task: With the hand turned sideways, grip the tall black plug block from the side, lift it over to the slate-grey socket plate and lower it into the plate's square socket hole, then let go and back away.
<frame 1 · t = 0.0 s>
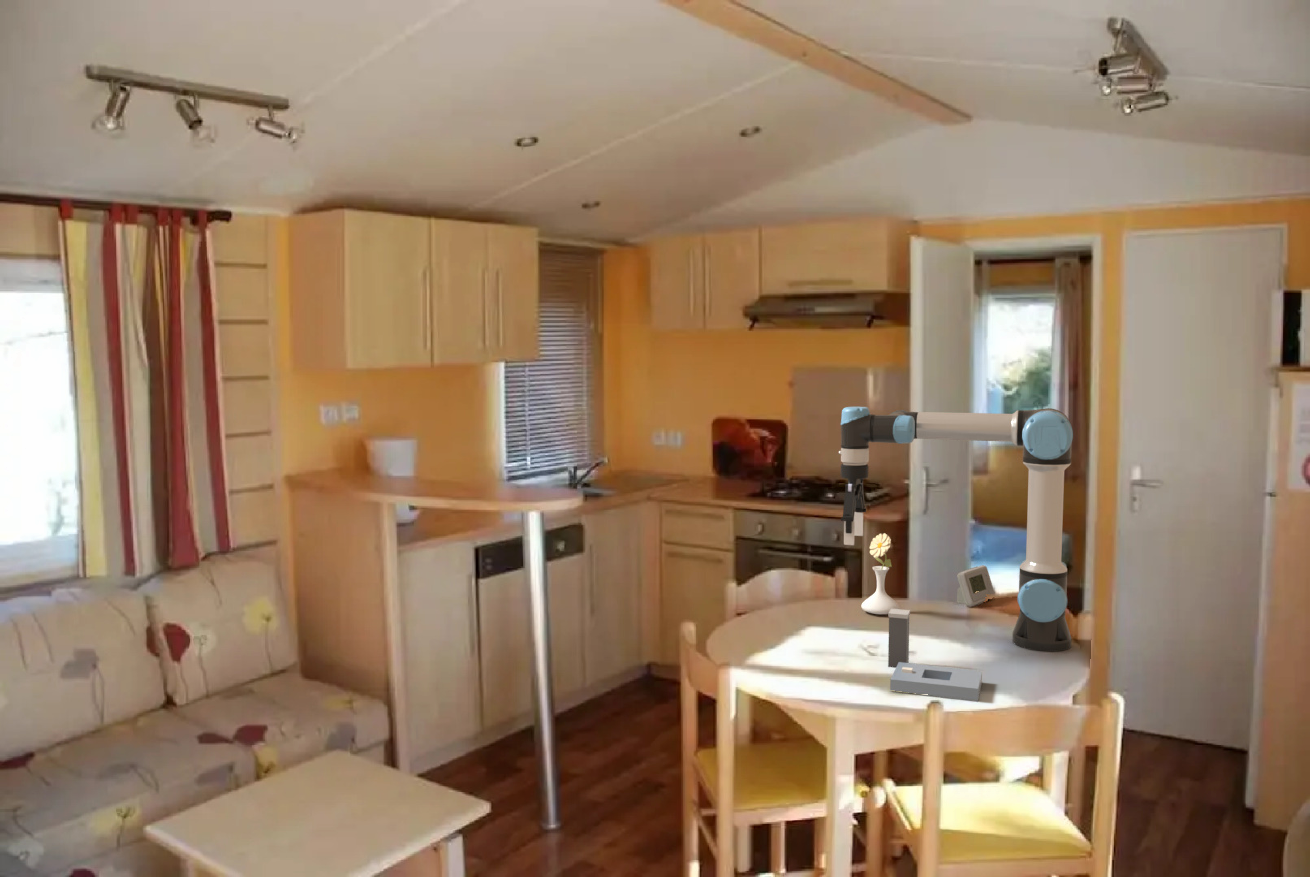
hand: (853, 540, 294), 28 cm above the table, tool pointing down, fingers open, 13 cm apart
digital clock: (975, 603, 336), on the table
plug: (898, 665, 274), on the table
flower in vase: (881, 613, 324), on the table
socket plate: (936, 687, 257), on the table
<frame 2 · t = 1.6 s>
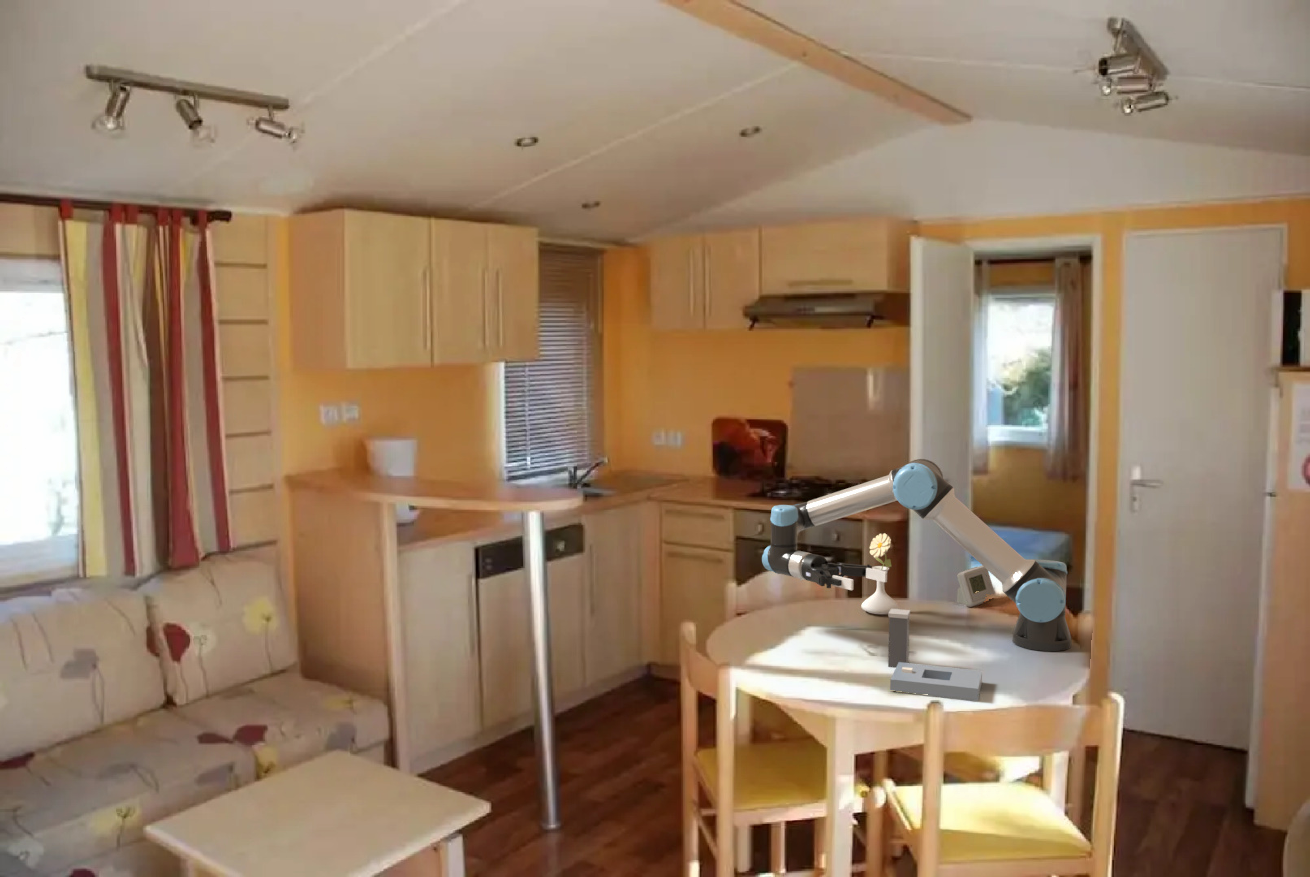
hand: (869, 581, 280), 20 cm above the table, tool horizontal, fingers open, 13 cm apart
nothing on the table moved.
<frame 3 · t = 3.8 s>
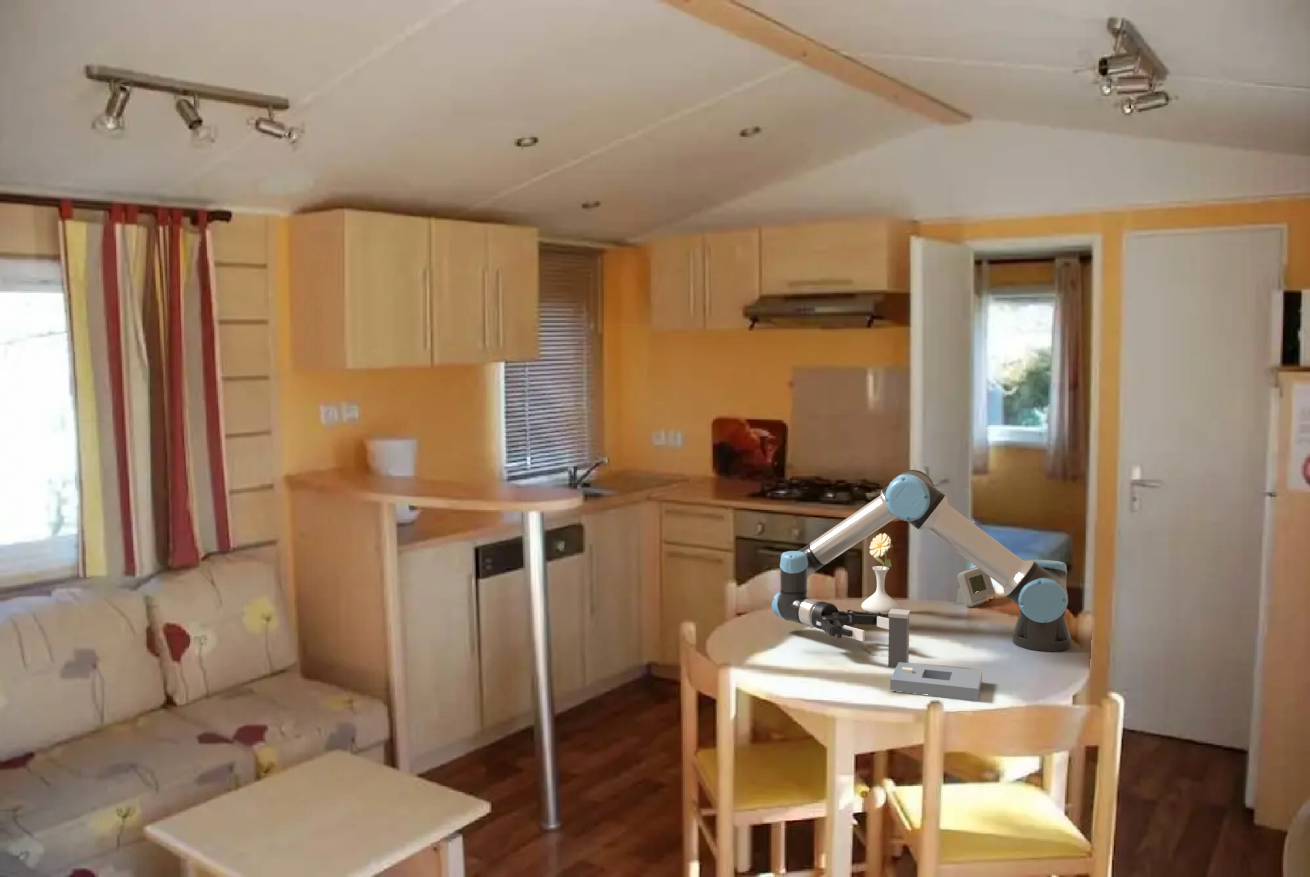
hand: (880, 631, 277), 8 cm above the table, tool horizontal, fingers open, 13 cm apart
nothing on the table moved.
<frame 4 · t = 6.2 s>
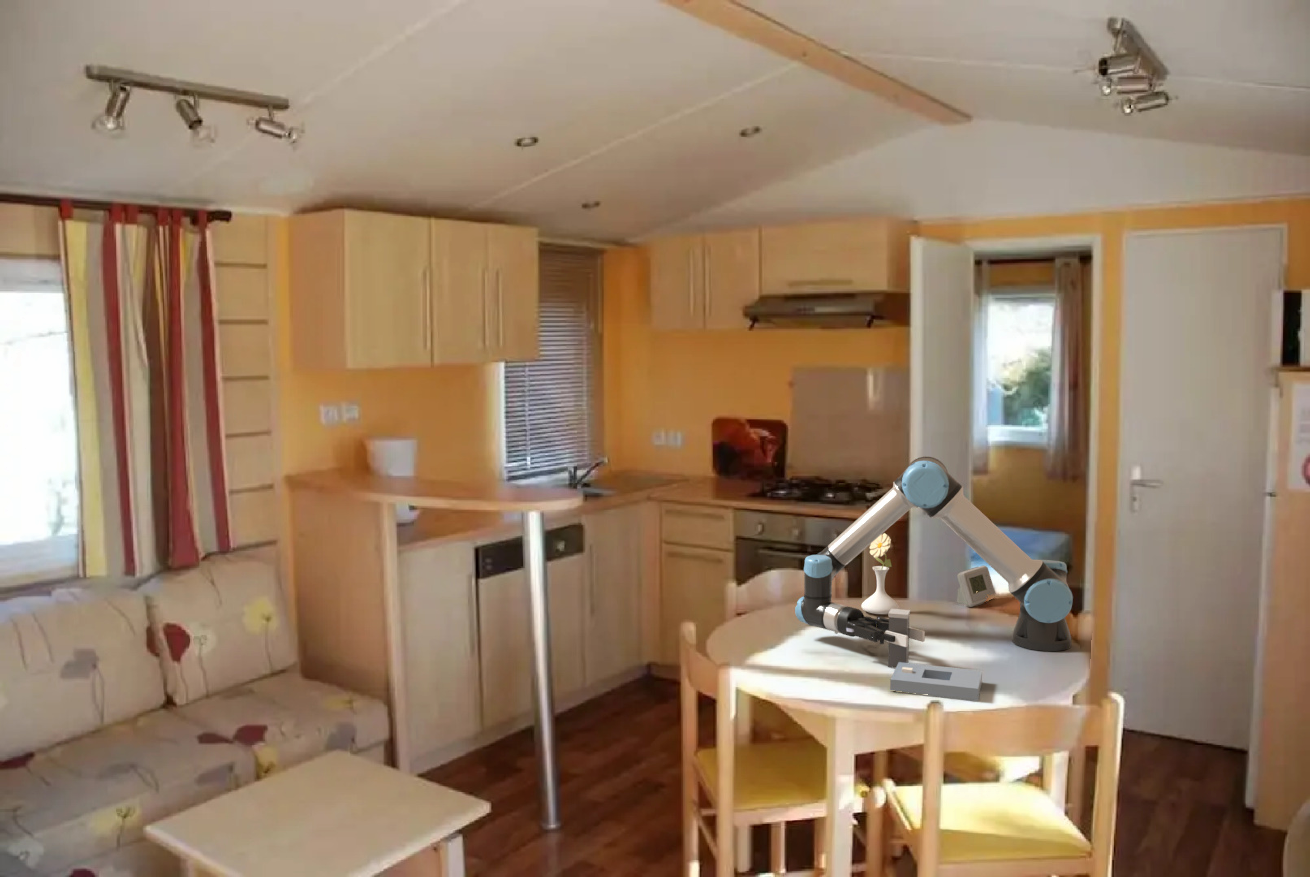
hand: (915, 639, 269), 8 cm above the table, tool horizontal, fingers closed on plug, 6 cm apart
plug: (898, 665, 274), on the table, touching gripper
everything else where it was.
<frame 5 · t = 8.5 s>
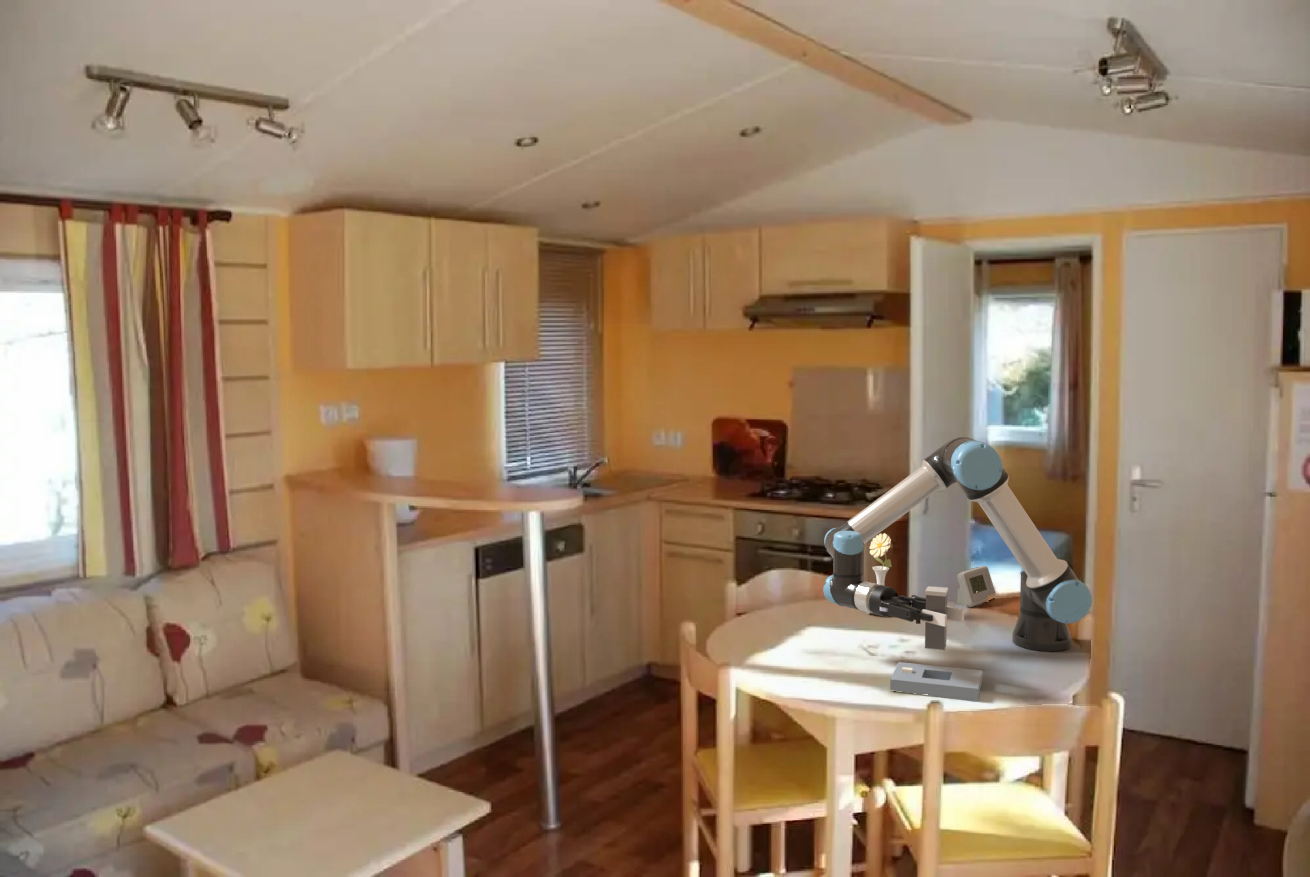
hand: (954, 618, 252), 18 cm above the table, tool horizontal, fingers closed on plug, 6 cm apart
plug: (935, 646, 257), point 10 cm above the table, touching gripper
everything else where it was.
when the fingers open (9 cm above the table, at t = 10.9 s): plug drops 1 cm, resting in socket plate.
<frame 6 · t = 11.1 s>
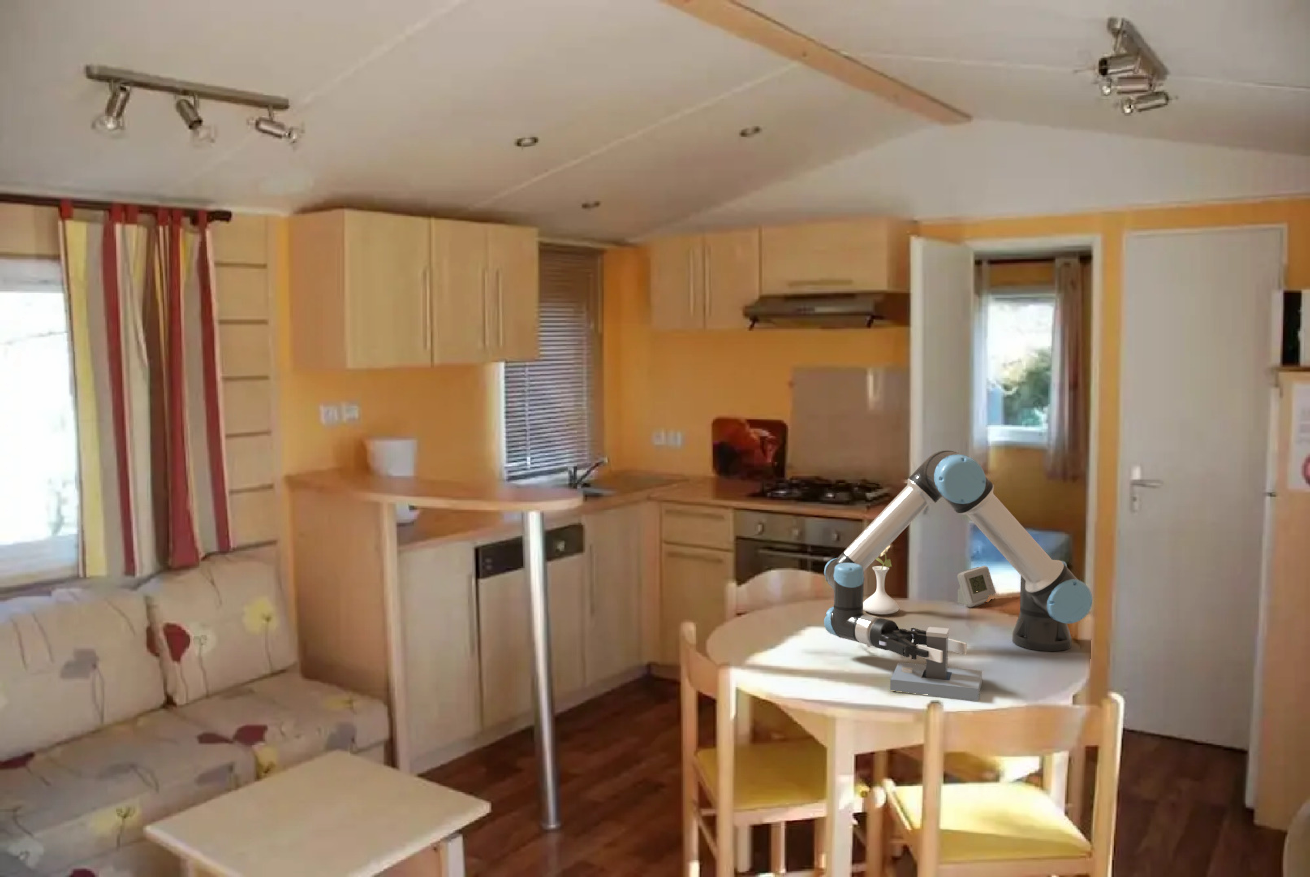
hand: (953, 653, 253), 9 cm above the table, tool horizontal, fingers open, 9 cm apart
plug: (936, 687, 257), resting in socket plate
everything else where it was.
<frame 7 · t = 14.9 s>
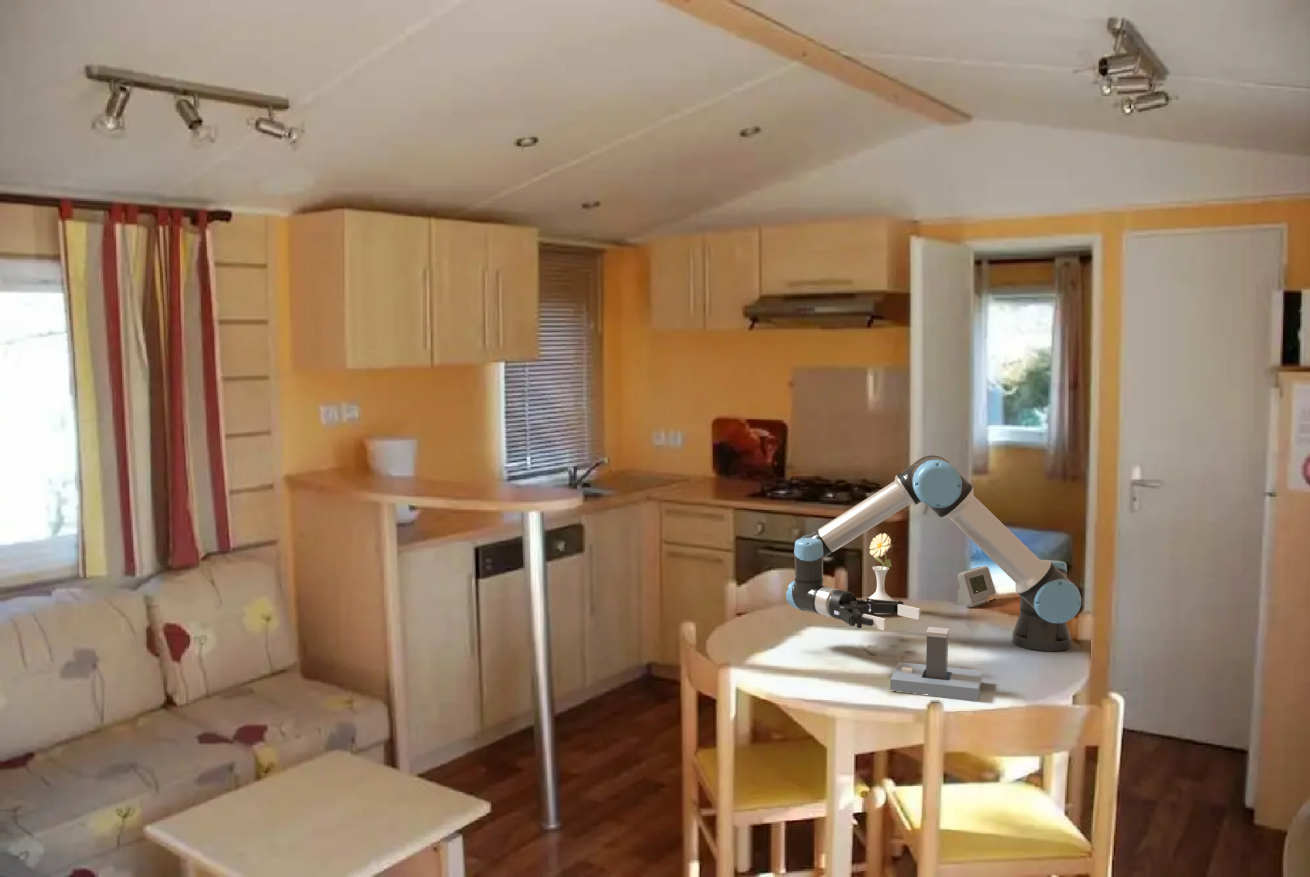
hand: (902, 619, 263), 15 cm above the table, tool horizontal, fingers open, 13 cm apart
nothing on the table moved.
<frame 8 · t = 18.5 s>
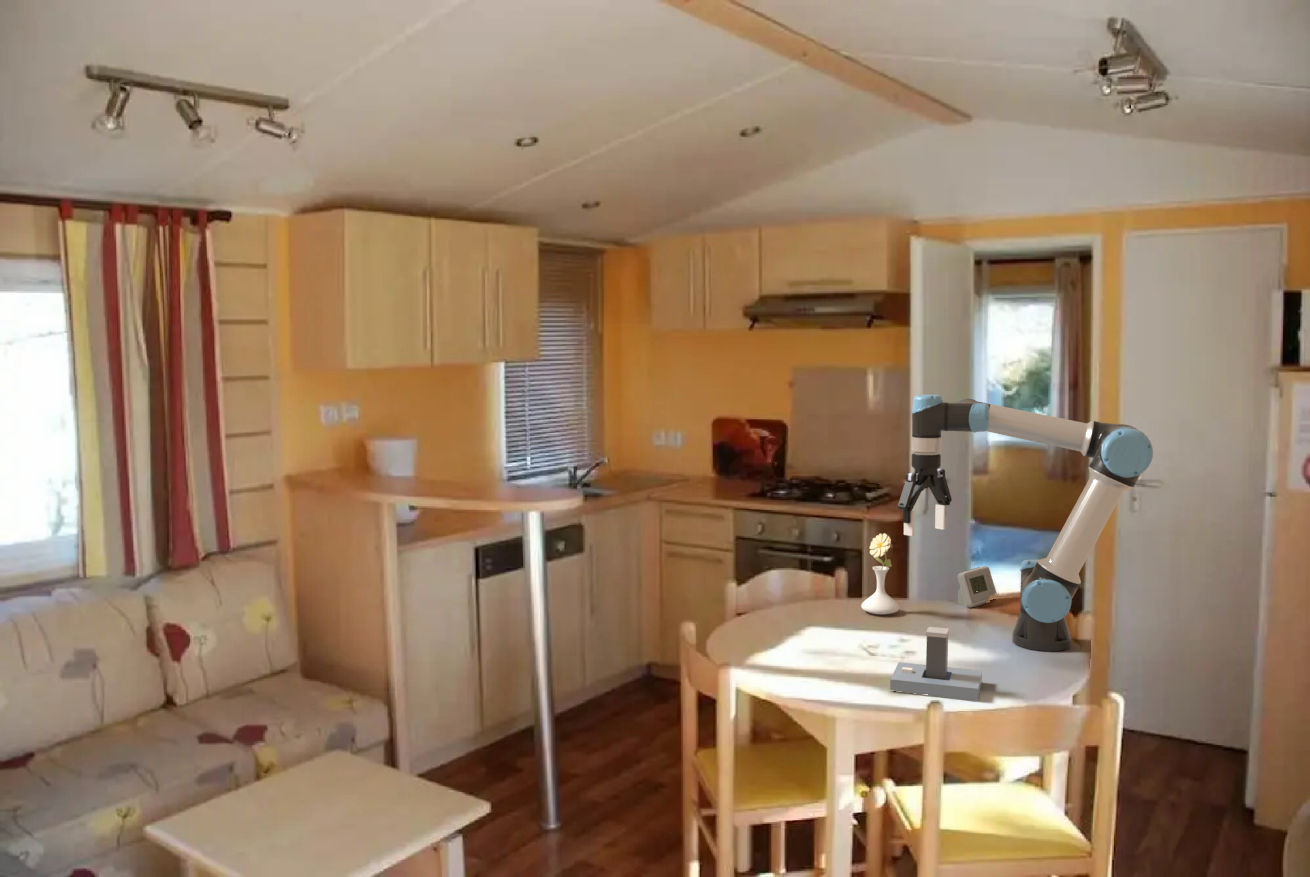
hand: (924, 532, 285), 32 cm above the table, tool pointing down, fingers open, 13 cm apart
nothing on the table moved.
at the end: plug 0.1 cm off-centre on the socket plate, point 0.0 cm above the socket plate's base; plug tilted 0°; the gripper is holding nothing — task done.
